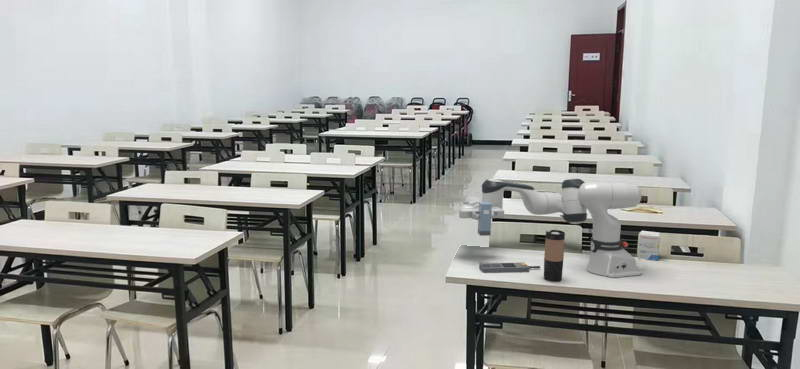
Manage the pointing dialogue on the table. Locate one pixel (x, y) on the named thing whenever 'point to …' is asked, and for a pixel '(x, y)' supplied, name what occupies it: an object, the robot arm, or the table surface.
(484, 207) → the blue rectangular block
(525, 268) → the power strip
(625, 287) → the table surface
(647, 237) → the ink box
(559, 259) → the travel mug
